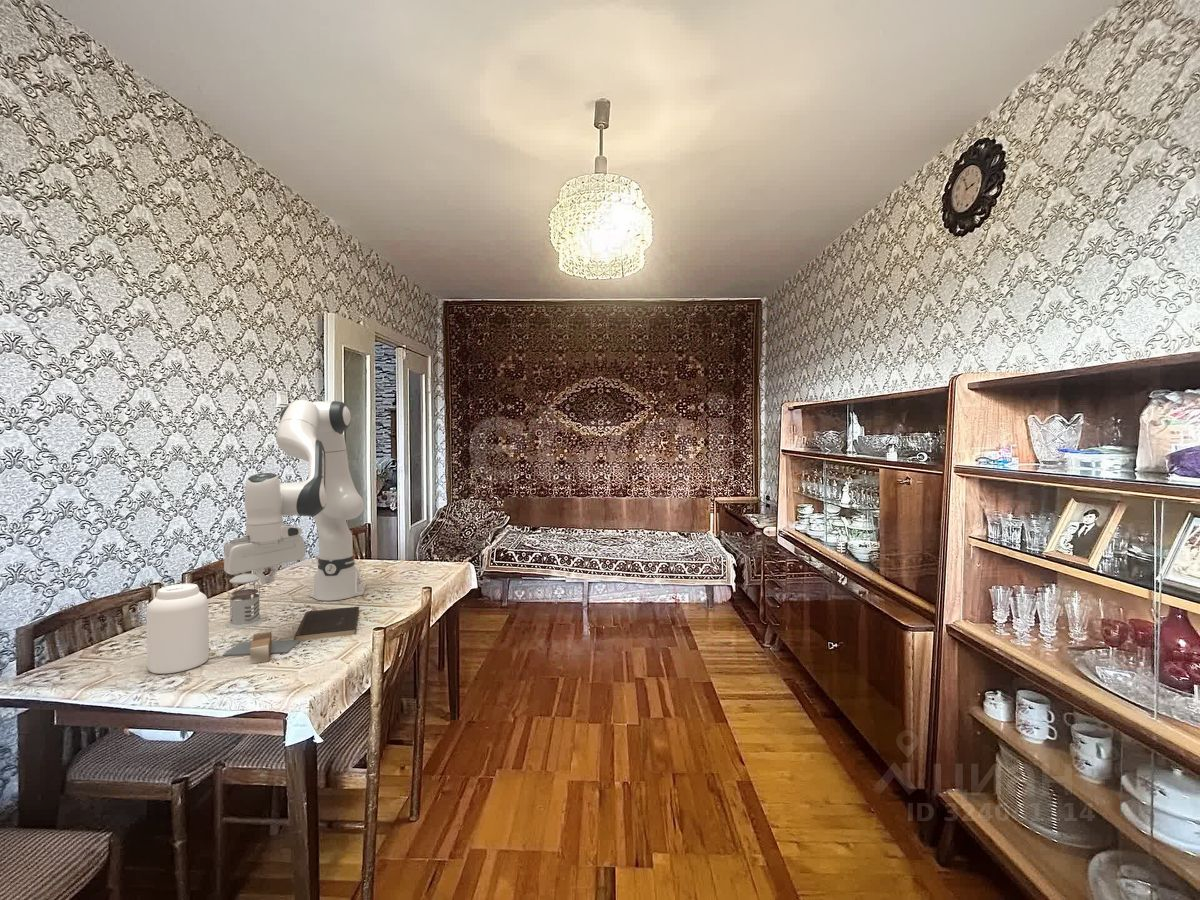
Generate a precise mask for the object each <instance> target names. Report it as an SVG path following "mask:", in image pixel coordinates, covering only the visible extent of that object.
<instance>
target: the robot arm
mask: <svg viewBox="0 0 1200 900" xmlns="http://www.w3.org/2000/svg"><path fill="white" fill-rule="evenodd" d="M279 417H280V422H279V424H278V428H277V431H276V434H275V441H276V444H277V446H278V447H279V449H280V450H281V451H283V452H284V453H285V454H286V455H288V456H290V457H292V458H296V459H299V460H303V461H305V462H308V473H307V474H308V475H307V479H306V480H304V481H300V482H295V481H294V482H293V481H292V482H281V481H280V479H279V476H278V474H276V473H272V472H262V473H261V472H260V473H256V474H253V475H249V477H247V479H246V482H245V485H244V486H245V487H244V510H245V512H246V519H245V520H246V521H245V532H246V534H245V535H246V536H245V535H244V536H240V537H237V538H236V537H235V538H231V539H229V540H228V541H226V543H224V544H223V552H224V559H223V560H224V561H223V571H224V572H225V573H226V574H228V575H240V574H244V572H245V573H247V572H252V571H255V573H256V575H257V576H259V577H260V579H259V581H260V584H261V585H266V584H269V583H274V582H275V581H276V579H275V578H276V577H275V576H276V574H277V573H278V570H279V568H280V567H279V565H282V564H288V563H293V562H295V561H296V562H297V561H300V560H304V558H305V557H306V544H305V539H304V537H303V536H302V534H303V529H302V528H301V527H299V526H294V525H290V524H284V518H283V517H289V516H290V517H293V516H295V517H296V516H301V517H313V519H314V522H315V527H316V530H317V534H318V558H317V570H316V571H315V572H314V574H313V583H312V592H310V593H308V597H309V598H312V599H313V598H314V599H315V600H318V601H325V602H326V601H339V600H345V599H350V598H354V597H358V596H362V595H364V594H365V591H366V588H367V582H364V581H361V573H360V571H359V569H358V568H357V567H356V566H355V564H356V562H355V559H356V554H355V553H353V549H354V548H353V547H354V546H353V545H354V544H353V541H354V540H353V532H352V531H351V530H350V528H349V525H348V523H347V521H349V520H353V519H356V518H358V517H359V516H360V515H361V514H362V512H363V510H364V507H365V504H364V502H365V501H364V499H363V497H362V496H361V495H360V494H359V493H358V490H357V489H356V487H355V484H354V481H353V479H352V475H351V472H350V468H349V467H350V466H349V460H348V453H347V446H346V445H347V444H346V439H345V435H344V432H345V431H347V430H348V428H349V426H350V425H351V411H350V408H349V406H348V405H347V404H346V403H345V402H343V401H336V400H333V401H321V400H320V401H313V402H312V401H311V400H306V399H297V400H294V401H292V402H290V404H288V405H285V407H284V408H283V409H281V412H280V415H279ZM266 568H269V569H270V570H269V573H268V575H265V574H264V572H265V570H266Z"/></svg>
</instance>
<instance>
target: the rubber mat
mask: <svg viewBox="0 0 1200 900" xmlns="http://www.w3.org/2000/svg"><path fill="white" fill-rule="evenodd" d="M301 641H302V640H294V639H289V640H288V639H287V640H272V648H271V653H270V655H276V654H277V655H278V654H289V652H291V651H292V649H294V648H295V647H296V646H297V645H298V644H299V643H300V642H301ZM251 644H252V641H242V642H241V641H239V642H238V643H237V644H235V645H234V646H232V647H231V648H230V649H228V650H227V651H226V652H224V653H223V654H222V657H232V656H234V657H235V656H237V657H239V656H250V647H251Z"/></svg>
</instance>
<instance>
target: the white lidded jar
mask: <svg viewBox="0 0 1200 900" xmlns="http://www.w3.org/2000/svg"><path fill="white" fill-rule="evenodd" d="M209 610H210V609H209V599H208V597H207V595H206V594H205V593H203V592H202V591H200V587H199V586H198V584H195V583H185V582H184V583H176V584H172V585H171V584H170V585H166V586H163V587H161V588H159V589H157V591H156V593H155V597H154V598H153V599H152V600H151V601H150V602H149V603H148V605H147V607H146V647H147V648H146V651H147V653H146V656H147V657H146V660H147V670H148V671H149V672H150V673H151V674H158V675H159V674H160V675H163V674H175V673H180V672H185V671H188V670H192V669H195V668H196V667H199V666H201V665H203V664H204V663H206V662H207V661H208V659H209V657H210V634H209V633H210V628H209V627H210V625H209V624H210V623H209V622H210V619H209Z"/></svg>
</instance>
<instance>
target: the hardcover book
mask: <svg viewBox="0 0 1200 900" xmlns="http://www.w3.org/2000/svg"><path fill="white" fill-rule="evenodd" d="M359 611H360V606H352V607H351V606H350V607H348V606H347V607H341V608H340V607H339V608H330V609H329V608H328V609H318V610H317V609H316V610H307V611H305V613H304V615H303V618H302V620H301V621H300V624H299V626H298V629H297V630H296V632H295V635H294V637H293V640H301V641H305V640H315V639H325V638H334V637H341V636H342V637H343V636H349V635H350V636H351V635H355V633H356V632H355V631H356V630H357V622H358V616H359Z"/></svg>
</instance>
